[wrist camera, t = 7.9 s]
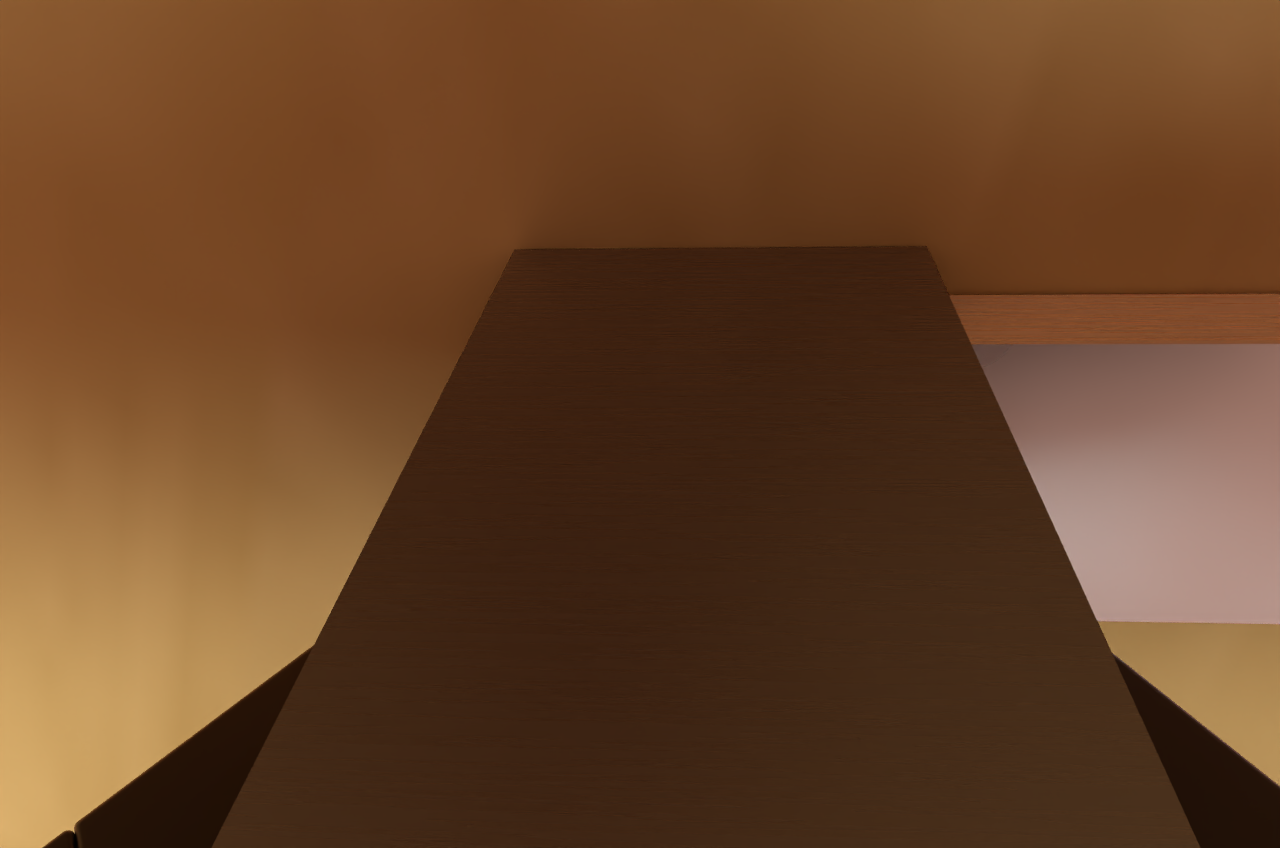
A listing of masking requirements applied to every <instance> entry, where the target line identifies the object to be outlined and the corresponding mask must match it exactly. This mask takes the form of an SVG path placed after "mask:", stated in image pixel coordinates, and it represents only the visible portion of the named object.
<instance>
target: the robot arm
mask: <svg viewBox="0 0 1280 848" xmlns="http://www.w3.org/2000/svg"><path fill="white" fill-rule="evenodd" d="M313 646H314V645H313ZM313 646H312V647H311V648H309V649H308V650H307V651H305V652H304V653H303V654H301V655H300V656H299V657H297V658H296V659H295V660H293V661H292V662H291V663H289V664H288V665H287V666H285V667H284V668H283V669H281V670H280V671H279V672H277V673H276V674H275V675H273V676H272V677H271V678H269V679H268V680H267V681H265V682H264V683H263V684H261V685H260V686H259V687H257V688H256V689H254V690H253V691H252V692H250V693H249V694H248V695H246V696H245V697H244V698H242V699H241V700H240V701H238V702H237V703H236V704H234V705H233V706H232V707H230V708H229V709H228V710H226V711H225V712H224V713H222V714H221V715H220V716H218V717H217V718H216V719H214V720H213V721H212V722H210V723H209V724H208V725H206V726H205V727H204V728H202V729H201V730H200V731H198V732H197V733H196V734H194V735H193V736H192V737H190V738H189V739H188V740H186V741H185V742H184V743H182V744H181V745H180V746H178V747H177V748H176V749H174V750H173V751H172V752H170V753H169V754H168V755H166V756H165V757H164V758H162V759H161V760H160V761H158V762H157V763H156V764H154V765H153V766H152V767H150V768H149V769H148V770H146V771H145V772H143V773H142V774H141V775H139V776H138V777H137V778H135V779H134V780H133V781H131V782H130V783H129V784H127V785H126V786H125V787H123V788H122V789H121V790H119V791H118V792H117V793H115V794H114V795H113V796H111V797H110V798H109V799H107V800H106V801H105V802H103V803H102V804H101V805H99V806H98V807H97V808H95V809H94V810H93V811H91V812H90V813H89V814H87V815H86V816H85V817H83V818H82V819H81V820H79V821H78V822H77V823H76V824H75V827H74V831H75V834H74V832H72V831H70V830H67V831H64V832H63V833H61V834H60V835H59V836H57V837H56V838H55V839H53V840H52V841H51V842H49V843H48V844H47V845H45V846H44V847H43V848H212V846H213V844H214V842H215V840H216V838H217V836H218V834H219V832H220V830H221V828H222V826H223V824H224V822H225V820H226V818H227V816H228V814H229V812H230V810H231V808H232V806H233V804H234V802H235V800H236V798H237V796H238V794H239V792H240V790H241V788H242V786H243V784H244V782H245V781H246V779H247V777H248V775H249V773H250V771H251V769H252V767H253V765H254V763H255V761H256V759H257V757H258V755H259V753H260V751H261V749H262V747H263V745H264V743H265V741H266V739H267V737H268V735H269V733H270V731H271V729H272V727H273V725H274V723H275V721H276V719H277V717H278V715H279V713H280V711H281V709H282V708H283V706H284V704H285V702H286V700H287V698H288V696H289V694H290V692H291V690H292V688H293V686H294V684H295V682H296V680H297V678H298V676H299V674H300V672H301V670H302V668H303V666H304V664H305V662H306V660H307V658H308V656H309V654H310V652H311V650H312V648H313ZM1112 655H1113V657H1114V659H1115V661H1116V663H1117V665H1118V668H1119V670H1120V672H1121V674H1122V676H1123V679H1124V681H1125V683H1126V685H1127V687H1128V690H1129V692H1130V694H1131V696H1132V698H1133V701H1134V703H1135V705H1136V707H1137V709H1138V712H1139V714H1140V716H1141V718H1142V720H1143V723H1144V725H1145V727H1146V729H1147V731H1148V734H1149V736H1150V738H1151V740H1152V742H1153V745H1154V747H1155V749H1156V751H1157V753H1158V756H1159V758H1160V760H1161V762H1162V764H1163V767H1164V769H1165V771H1166V773H1167V775H1168V778H1169V780H1170V782H1171V784H1172V786H1173V789H1174V791H1175V793H1176V795H1177V797H1178V800H1179V802H1180V804H1181V806H1182V808H1183V811H1184V813H1185V815H1186V817H1187V819H1188V822H1189V824H1190V826H1191V828H1192V830H1193V832H1194V835H1195V837H1196V839H1197V841H1198V843H1199V846H1200V848H1280V786H1279V785H1278V784H1276V783H1275V782H1274V781H1272V780H1271V779H1270V778H1269V777H1267V776H1266V775H1265V774H1264V773H1262V772H1261V771H1260V770H1259V769H1257V768H1256V767H1255V766H1254V765H1252V764H1251V763H1250V762H1249V761H1247V760H1246V759H1245V758H1244V757H1242V756H1241V755H1240V754H1239V753H1237V752H1236V751H1235V750H1234V749H1232V748H1231V747H1230V746H1229V745H1227V744H1226V743H1225V742H1223V741H1222V740H1221V739H1220V738H1218V737H1217V736H1216V735H1215V734H1213V733H1212V732H1211V731H1210V730H1208V729H1207V728H1206V727H1205V726H1203V725H1202V724H1201V723H1200V722H1198V721H1197V720H1196V719H1195V718H1193V717H1192V716H1191V715H1190V714H1188V713H1187V712H1186V711H1185V710H1183V709H1182V708H1181V707H1180V706H1178V705H1177V704H1176V703H1175V702H1173V701H1172V700H1171V699H1169V698H1168V697H1167V696H1166V695H1164V694H1163V693H1162V692H1161V691H1159V690H1158V689H1157V688H1156V687H1154V686H1153V685H1152V684H1151V683H1149V682H1148V681H1147V680H1146V679H1144V678H1143V677H1142V676H1141V675H1139V674H1138V673H1137V672H1136V671H1134V670H1133V669H1132V668H1131V667H1129V666H1128V665H1127V664H1126V663H1124V662H1123V661H1122V660H1120V659H1119V658H1118V657H1117V656H1115V655H1114V654H1113V653H1112Z"/></svg>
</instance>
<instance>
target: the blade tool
mask: <svg viewBox="0 0 1280 848" xmlns="http://www.w3.org/2000/svg"><path fill="white" fill-rule="evenodd" d="M1097 621H1121V622H1181V623H1241V624H1280V294H1091V295H949V294H948V292H947V290H946V288H945V285H944V283H943V281H942V279H941V277H940V274H939V272H938V270H937V268H936V266H935V263H934V261H933V259H932V257H931V255H930V252H929V250H928V248H927V246H913V247H786V248H659V249H532V250H514V252H513V254H512V256H511V258H510V260H509V262H508V264H507V266H506V268H505V270H504V272H503V274H502V276H501V278H500V279H499V281H498V283H497V285H496V287H495V289H494V291H493V293H492V295H491V297H490V299H489V301H488V303H487V305H486V307H485V309H484V311H483V313H482V315H481V317H480V319H479V321H478V323H477V325H476V327H475V329H474V331H473V333H472V335H471V337H470V339H469V341H468V343H467V345H466V347H465V349H464V351H463V352H462V354H461V356H460V358H459V360H458V362H457V364H456V366H455V368H454V370H453V372H452V374H451V376H450V378H449V380H448V382H447V384H446V386H445V388H444V390H443V392H442V394H441V396H440V398H439V400H438V402H437V404H436V406H435V408H434V410H433V412H432V414H431V416H430V418H429V420H428V422H427V423H426V425H425V427H424V429H423V431H422V433H421V435H420V437H419V439H418V441H417V443H416V445H415V447H414V449H413V451H412V453H411V455H410V457H409V459H408V461H407V463H406V465H405V467H404V469H403V471H402V473H401V475H400V477H399V479H398V481H397V483H396V485H395V487H394V489H393V491H392V493H391V494H390V496H389V498H388V500H387V502H386V504H385V506H384V508H383V510H382V512H381V514H380V516H379V518H378V520H377V522H376V524H375V526H374V528H373V530H372V532H371V534H370V536H369V538H368V540H367V542H366V544H365V546H364V548H363V550H362V552H361V554H360V556H359V558H358V560H357V562H356V564H355V566H354V567H353V569H352V571H351V573H350V575H349V577H348V579H347V581H346V583H345V585H344V587H343V589H342V591H341V593H340V595H339V597H338V599H337V601H336V603H335V605H334V607H333V609H332V611H331V613H330V615H329V617H328V619H327V621H326V623H325V625H324V627H323V629H322V631H321V633H320V635H319V637H318V638H317V640H316V642H315V644H314V646H313V648H312V650H311V652H310V654H309V656H308V658H307V660H306V662H305V664H304V666H303V668H302V670H301V672H300V674H299V676H298V678H297V680H296V682H295V684H294V686H293V688H292V690H291V692H290V694H289V696H288V698H287V700H286V702H285V704H284V706H283V708H282V709H281V711H280V713H279V715H278V717H277V719H276V721H275V723H274V725H273V727H272V729H271V731H270V733H269V735H268V737H267V739H266V741H265V743H264V745H263V747H262V749H261V751H260V753H259V755H258V757H257V759H256V761H255V763H254V765H253V767H252V769H251V771H250V773H249V775H248V777H247V779H246V781H245V782H244V784H243V786H242V788H241V790H240V792H239V794H238V796H237V798H236V800H235V802H234V804H233V806H232V808H231V810H230V812H229V814H228V816H227V818H226V820H225V822H224V824H223V826H222V828H221V830H220V832H219V834H218V836H217V838H216V840H215V842H214V844H213V846H212V848H1200V846H1199V843H1198V841H1197V839H1196V837H1195V835H1194V832H1193V830H1192V828H1191V826H1190V824H1189V822H1188V819H1187V817H1186V815H1185V813H1184V811H1183V808H1182V806H1181V804H1180V802H1179V800H1178V797H1177V795H1176V793H1175V791H1174V789H1173V786H1172V784H1171V782H1170V780H1169V778H1168V775H1167V773H1166V771H1165V769H1164V767H1163V764H1162V762H1161V760H1160V758H1159V756H1158V753H1157V751H1156V749H1155V747H1154V745H1153V742H1152V740H1151V738H1150V736H1149V734H1148V731H1147V729H1146V727H1145V725H1144V723H1143V720H1142V718H1141V716H1140V714H1139V712H1138V709H1137V707H1136V705H1135V703H1134V701H1133V698H1132V696H1131V694H1130V692H1129V690H1128V687H1127V685H1126V683H1125V681H1124V679H1123V676H1122V674H1121V672H1120V670H1119V668H1118V665H1117V663H1116V661H1115V659H1114V657H1113V655H1112V652H1111V650H1110V648H1109V646H1108V644H1107V641H1106V639H1105V637H1104V635H1103V633H1102V630H1101V628H1100V626H1099V624H1098V622H1097Z"/></svg>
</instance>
